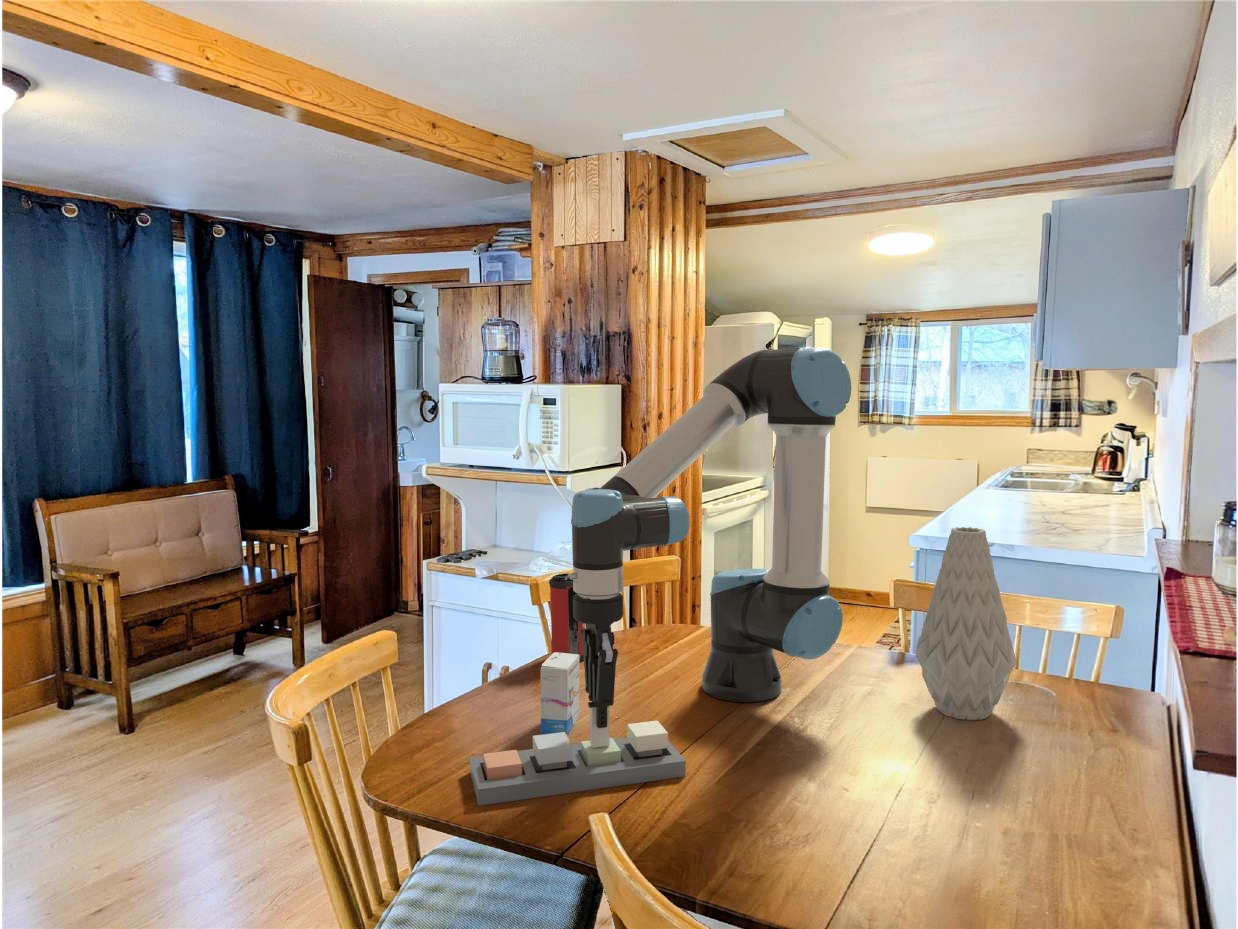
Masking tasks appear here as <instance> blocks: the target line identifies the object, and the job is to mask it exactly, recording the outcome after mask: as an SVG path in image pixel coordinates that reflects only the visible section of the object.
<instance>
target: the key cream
mask: <svg viewBox="0 0 1238 929" xmlns="http://www.w3.org/2000/svg"><path fill="white" fill-rule="evenodd" d="M626 727H627V728H626V733H627V736H626V737H627V739H628V741H629V742H630V743H631V745H632V746H633V748H634V750H635V751H636V753H637V754H638V755H639V757H638V758H644V757H651V756H658V755H660V754H662V749H663V748H668V740H669V733H668V731H667V730H666V729H665V727H664V726H663V725H662V723H660V722H659V720H652V721H651V720H650V721H643V722H642V721H641V722H635V723H627V725H626Z"/></svg>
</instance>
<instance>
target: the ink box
mask: <svg viewBox="0 0 1238 929" xmlns="http://www.w3.org/2000/svg"><path fill="white" fill-rule="evenodd" d="M579 656H580V655H578V654H568V653H558V652H555V653H553V654H552V655H551V654H550V656H549V657H547V658H546V659H545V661H544V662H542V664H541V667H540V735H544V734H552V733H560V732H565V733H566V735H567V736H568V735H569V733H570V732H571V731H572V728H573V727H574V725H575V724H576V722H577V721H578V719H579V718H580V661H579Z"/></svg>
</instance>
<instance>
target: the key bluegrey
mask: <svg viewBox="0 0 1238 929" xmlns="http://www.w3.org/2000/svg"><path fill="white" fill-rule="evenodd" d="M572 744H573V743H571V740H570V739H569V737H568V735H566V733H565V732H560V733H552V734H537V735H532V749H533V753H534V755H535V757H536V760H537V762H538V764H539V765H541V767H542V769H543V770H542V771H546V770H555V769H562V768H568V766H567V761H572Z"/></svg>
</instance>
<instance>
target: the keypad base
mask: <svg viewBox="0 0 1238 929" xmlns="http://www.w3.org/2000/svg"><path fill="white" fill-rule="evenodd" d="M613 740H614V741H615V743H616V744H617V746H618V747H619V749H620V750H621V762H617V763H610V764H603V765H595V766H588V767H587V766H586V765H585V763H584V761H583V759H582V757H581V742H578V743H571V744H572V761H567V769H560V770H553V771H545V772H539V773H538V772H536V771H544V770H543V769H542V767H541V765H539V764H538V762H537V760H536V757H535V755H534V753H533V748H529V749H523V750H521V749H520V750H517V752H518V755H519V758H520V760H521V763H522V776H514V777H507V778H499V779H492V780H487V779H486V780H485V778H486V775H485V772H484V759H483V754H482V755H475V756H474V755H473V756H469V767H470V768H469V772H470V777H471V781H472V785H473V789H474V792H475V797H476V802H477V806H478V807H479V806H487V805H494V804H500V803H508V802H514V801H521V800H522V801H523V800H529V799H530V800H531V799H535V798H543V797H550V796H556V795H557V796H558V795H564V794H571V793H576V792H577V793H578V792H584V791H591V790H599V789H605V788H612V787H619V786H620V787H621V786H626V785H634V784H640V783H641V784H642V783H647V782H654V781H661V780H668V779H676V778H683V777H686V760H685V758H684V757H683V756H682V755H681V754H680V752H679V751H678V750H677V749H676V748H675V747H674V745H673V744H672V742H671V741H670V740H669V739H668V748H663V749H662V754H659V755H660V756H657V757H654V756H653V757H649V758H640V757H639V755H638V754H637V753H636V751H635V750H634V748H633V746H632V745H631V743H630V742H629V741H628V739H627V736H625V737H616V738H613ZM634 758H640V759H634Z"/></svg>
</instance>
